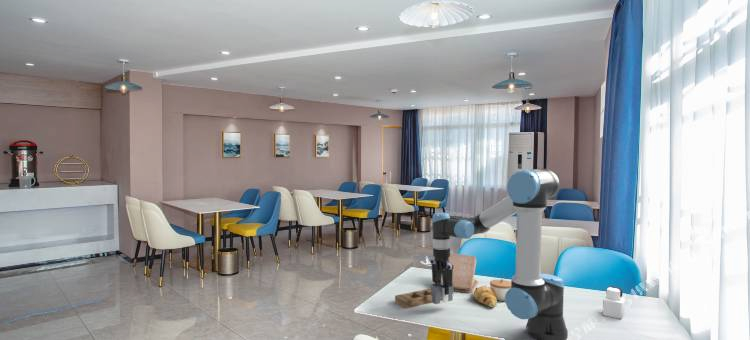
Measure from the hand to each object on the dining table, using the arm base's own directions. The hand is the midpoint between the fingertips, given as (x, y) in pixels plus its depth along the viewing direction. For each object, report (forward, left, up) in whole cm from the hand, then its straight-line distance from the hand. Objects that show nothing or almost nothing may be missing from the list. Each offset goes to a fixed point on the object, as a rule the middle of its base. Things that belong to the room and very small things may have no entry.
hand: (442, 300), depth 194 cm
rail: (+16, +1, -5) cm, 16 cm away
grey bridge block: (0, 0, -1) cm, 1 cm away
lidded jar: (-2, -34, -5) cm, 34 cm away
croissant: (-1, -25, -5) cm, 25 cm away
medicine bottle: (-41, -61, -5) cm, 74 cm away
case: (+25, -29, -5) cm, 38 cm away
